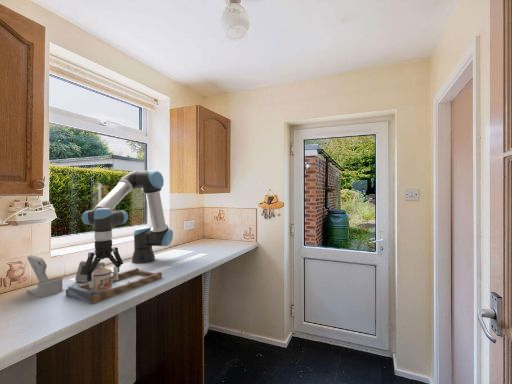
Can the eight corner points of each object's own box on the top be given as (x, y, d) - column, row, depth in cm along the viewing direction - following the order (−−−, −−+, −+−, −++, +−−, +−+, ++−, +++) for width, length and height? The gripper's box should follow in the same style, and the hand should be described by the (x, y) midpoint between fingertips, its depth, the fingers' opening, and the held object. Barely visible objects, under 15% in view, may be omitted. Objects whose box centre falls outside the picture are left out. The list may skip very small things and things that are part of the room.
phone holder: (64, 291, 134) (64, 254, 134) (40, 297, 126) (39, 259, 125) (49, 284, 143) (49, 250, 143) (25, 290, 135) (25, 254, 135)
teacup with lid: (98, 294, 126) (98, 270, 126) (86, 291, 130) (85, 267, 130) (121, 286, 137) (120, 263, 137) (109, 283, 141) (108, 261, 141)
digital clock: (73, 282, 147) (73, 262, 147) (89, 277, 155) (89, 258, 155) (92, 286, 140) (92, 265, 140) (108, 280, 149) (108, 261, 148)
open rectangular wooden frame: (136, 272, 162) (136, 265, 162) (161, 277, 152) (161, 269, 152) (65, 295, 128) (65, 286, 128) (92, 304, 118) (92, 293, 118)
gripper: (82, 244, 121) (83, 292, 121) (130, 236, 142) (130, 277, 142) (73, 243, 124) (73, 290, 125) (120, 235, 146) (121, 275, 146)
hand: (104, 283), depth 133 cm, fingers closed on teacup with lid, 12 cm apart
